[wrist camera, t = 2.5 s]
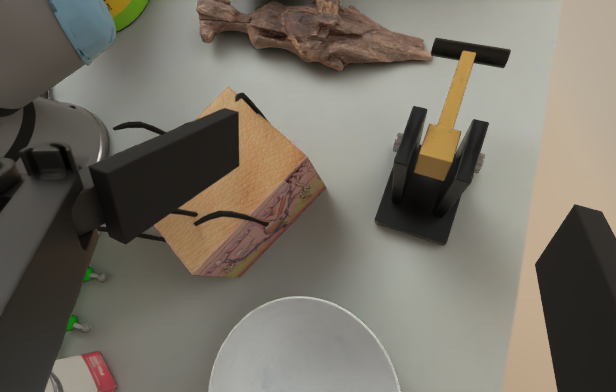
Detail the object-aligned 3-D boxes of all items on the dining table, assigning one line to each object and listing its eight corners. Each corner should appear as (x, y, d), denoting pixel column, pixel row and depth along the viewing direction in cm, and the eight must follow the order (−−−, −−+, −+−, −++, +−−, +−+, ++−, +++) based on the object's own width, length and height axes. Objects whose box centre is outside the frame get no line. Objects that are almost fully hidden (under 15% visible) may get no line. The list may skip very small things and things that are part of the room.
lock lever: (432, 53, 31) (438, 29, 29) (503, 65, 29) (514, 40, 27) (388, 165, 25) (391, 146, 23) (471, 189, 24) (483, 170, 22)
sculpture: (422, 89, 37) (426, 66, 33) (199, 48, 46) (182, 26, 42) (445, 17, 39) (451, -12, 35) (225, -9, 47) (211, -35, 44)
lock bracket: (401, 144, 36) (409, 74, 24) (469, 162, 34) (514, 94, 22) (374, 222, 35) (368, 188, 23) (444, 245, 33) (477, 222, 21)
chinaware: (263, 280, 36) (232, 279, 28) (409, 311, 32) (415, 319, 25) (230, 437, 33) (185, 480, 25) (387, 492, 29) (387, 562, 21)
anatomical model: (264, 126, 41) (199, 41, 26) (329, 185, 37) (294, 123, 23) (173, 219, 40) (56, 183, 26) (229, 289, 36) (130, 291, 22)
